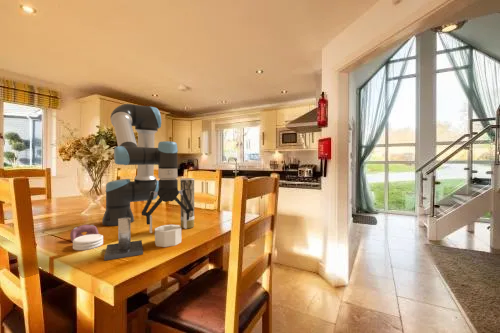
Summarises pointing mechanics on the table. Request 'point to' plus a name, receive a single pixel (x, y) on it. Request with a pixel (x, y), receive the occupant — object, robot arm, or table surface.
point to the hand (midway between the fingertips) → (168, 230)
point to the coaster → (87, 242)
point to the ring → (167, 235)
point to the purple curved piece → (84, 228)
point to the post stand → (123, 242)
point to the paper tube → (188, 186)
